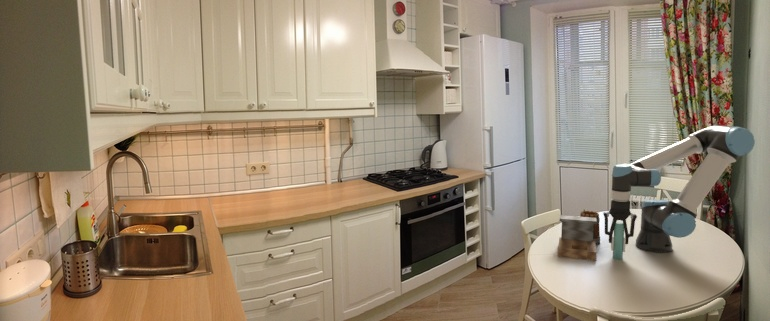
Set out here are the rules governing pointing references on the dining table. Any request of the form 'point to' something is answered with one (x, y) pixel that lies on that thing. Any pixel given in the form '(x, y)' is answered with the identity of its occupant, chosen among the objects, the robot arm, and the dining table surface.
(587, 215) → the mug
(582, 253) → the socket block
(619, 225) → the peg
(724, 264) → the dining table surface
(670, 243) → the robot arm
